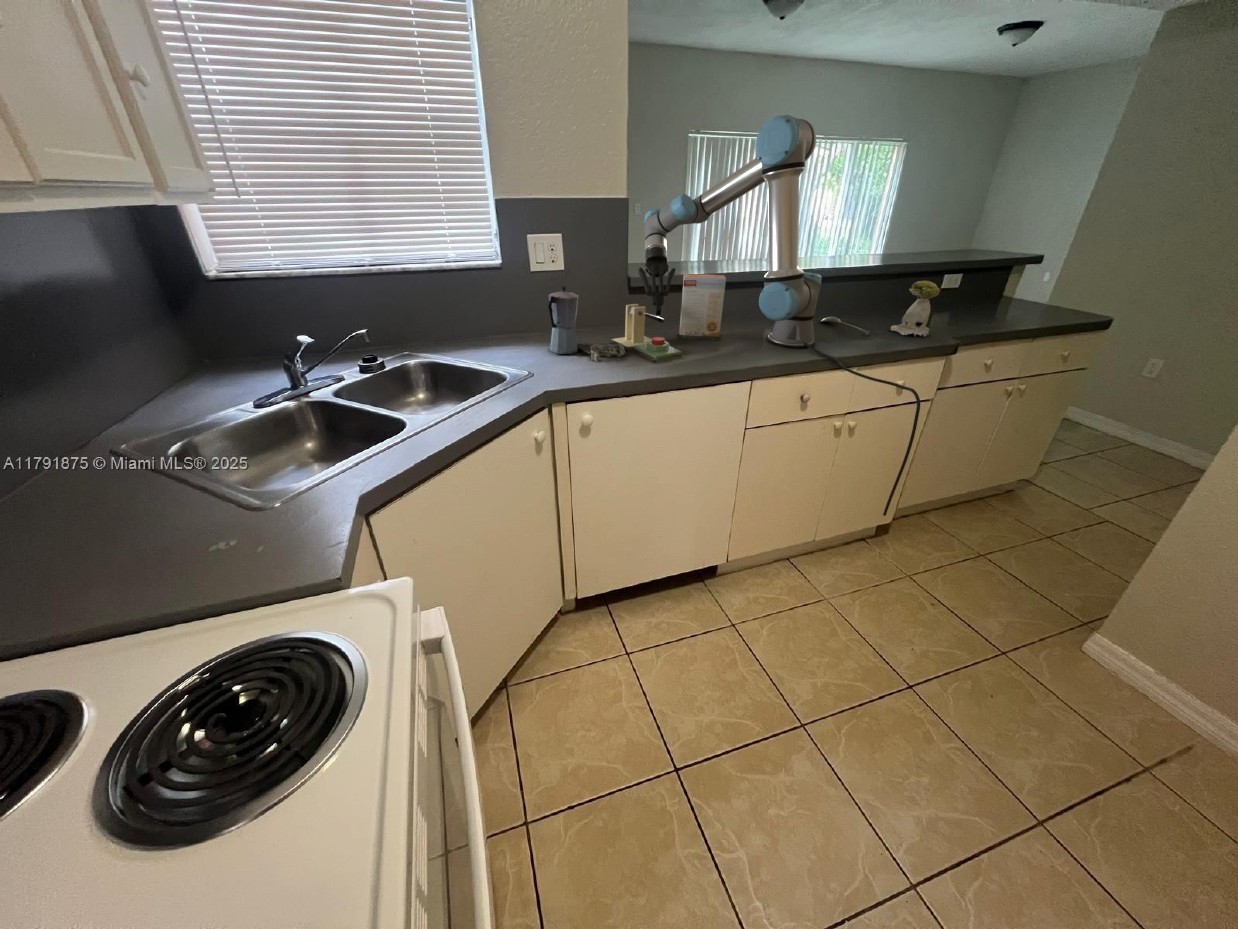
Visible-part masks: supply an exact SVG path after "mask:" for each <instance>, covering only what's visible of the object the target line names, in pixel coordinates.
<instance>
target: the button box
mask: <svg viewBox="0 0 1238 929" xmlns="http://www.w3.org/2000/svg"><path fill="white" fill-rule="evenodd" d="M633 349H635V350H636V351H638V352H641V353H642V354H645V355H647V356H649V357H651V358H653V359H655V360H651V362H652V363H654V364H658V363H665V362H668V361H669V362H670V361H674V360H678V359H682V354H683V351H682V350H680V349H678V348H675V347H672V346H671V345H670V342H668V341H666V340H664V345H653V344H652V340H651V341H648V342H647V344H643V345H637V346H633Z"/></svg>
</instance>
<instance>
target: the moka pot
mask: <svg viewBox="0 0 1238 929" xmlns="http://www.w3.org/2000/svg"><path fill="white" fill-rule="evenodd" d="M579 296H580V295H579V294H576V293H575V292H568V291H567V286H565V285H561V291H557V292H552V293H550V294H548V303H547V307H548V312H549V317H550V321H551V337H550V344H549V345H550V346H549V350H550V352H551V353H553V354H559V355H570V354H575V353H577V352H578V350H579V349H578V341H577V331H576V321H577V314H578V306H579V305H578V304H579Z"/></svg>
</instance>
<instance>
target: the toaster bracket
mask: <svg viewBox="0 0 1238 929" xmlns="http://www.w3.org/2000/svg"><path fill="white" fill-rule="evenodd" d="M632 306H633V307H634V308H633V315H632V314H629V313H630V310H631V307H632ZM645 313H646V306H645V305H644V306H643V305H642V306H639V303H632V304H626V305H625V322H624V323H625V325H624V326H625V327H624V328H625V329H624V336H623V337H615V338H612V339H611V340H612V341H614V342H616V343H617V344H620V343H622V344H623V346H624V347H627V348H630V347H631V348H632V347H634V346H637V345H643V344H647V342H648V341H651V340H652V338H650V337H647V336H645V329H646V328H645V327H646V317H645Z"/></svg>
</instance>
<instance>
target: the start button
mask: <svg viewBox="0 0 1238 929" xmlns="http://www.w3.org/2000/svg"><path fill="white" fill-rule="evenodd" d="M651 339H652V344H653V345H664V341H666V339H665V337H661V336H654V337H652V338H651Z"/></svg>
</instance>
